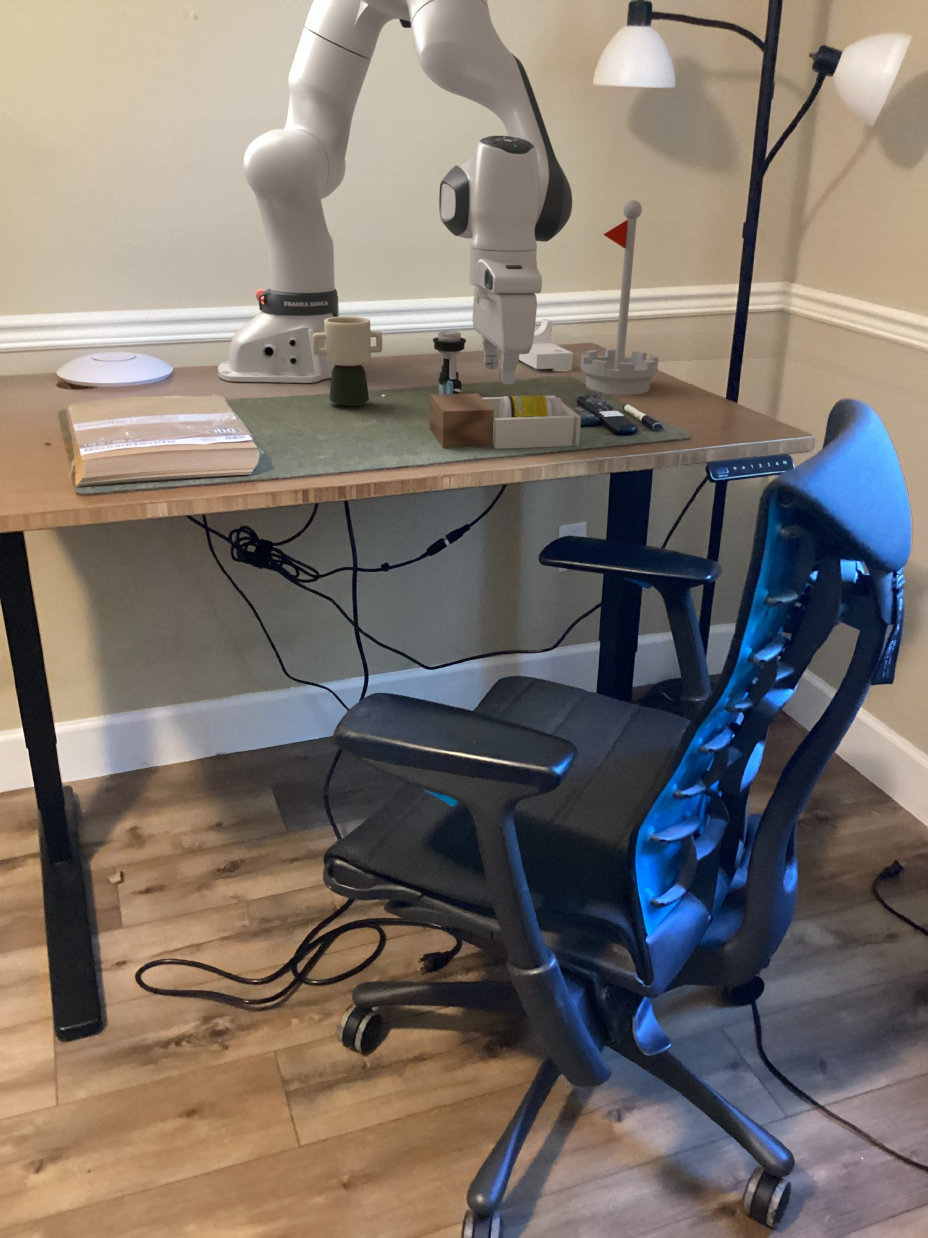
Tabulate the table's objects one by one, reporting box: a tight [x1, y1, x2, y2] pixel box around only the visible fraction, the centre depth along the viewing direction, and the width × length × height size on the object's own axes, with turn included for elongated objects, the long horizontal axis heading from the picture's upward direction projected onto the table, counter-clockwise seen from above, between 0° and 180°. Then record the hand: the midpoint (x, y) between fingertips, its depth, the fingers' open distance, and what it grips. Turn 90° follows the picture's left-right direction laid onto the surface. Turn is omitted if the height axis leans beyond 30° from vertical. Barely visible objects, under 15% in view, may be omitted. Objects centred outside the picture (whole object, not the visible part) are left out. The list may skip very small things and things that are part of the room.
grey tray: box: [482, 395, 582, 450], centre depth 145 cm, size 12×13×4 cm
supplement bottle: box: [499, 394, 563, 418], centre depth 145 cm, size 5×5×8 cm
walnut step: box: [429, 392, 494, 449], centre depth 143 cm, size 7×10×5 cm
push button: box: [432, 330, 467, 394], centre depth 164 cm, size 7×5×10 cm
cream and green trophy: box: [312, 315, 383, 406], centre depth 157 cm, size 11×7×13 cm, turn 109°
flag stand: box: [580, 199, 659, 396], centre depth 169 cm, size 13×13×30 cm
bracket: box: [519, 318, 574, 371], centre depth 190 cm, size 13×7×8 cm, turn 18°
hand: (498, 375), depth 141 cm, fingers open, 8 cm apart
